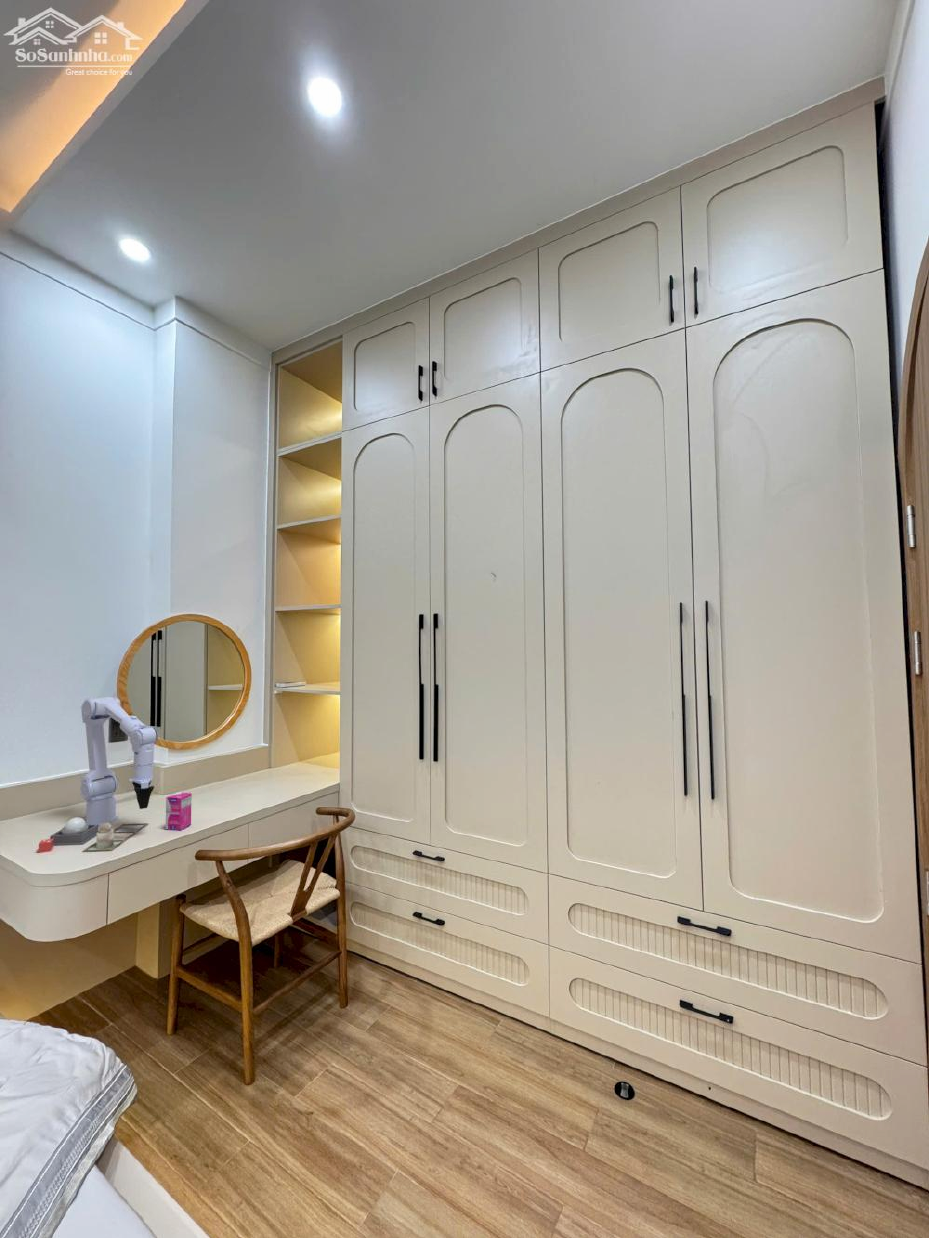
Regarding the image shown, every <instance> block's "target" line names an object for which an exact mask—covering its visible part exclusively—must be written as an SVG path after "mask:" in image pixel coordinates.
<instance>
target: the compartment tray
mask: <svg viewBox="0 0 929 1238" xmlns="http://www.w3.org/2000/svg"><path fill="white" fill-rule="evenodd" d="M148 825H149V823H147V822H146V823H123V824H121V825H119V826H117V827H116V828H115V829H113V830H114V844H113V846H111V847H108V848H104V849H97V848H96V847H97V841H95V842H94V843H92V844H91V845H89V846H88V847H87V848H84V849H83V850H82V853H96V852H98V853H100V852H113V851H114V850H115V849H117V848H118V847H120V846H121V845H122V844H124V843H125V842H127V841H128V840H129V839H130V838H132V837H133V836H135V835H136V834H137V833H139V832H140V831H141V830H143V829H144V828H145V827H147V826H148Z"/></svg>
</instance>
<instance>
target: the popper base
mask: <svg viewBox="0 0 929 1238" xmlns="http://www.w3.org/2000/svg"><path fill="white" fill-rule="evenodd" d="M99 827H100V826H99V824H97V825H88V830H87V831H85V832H84V833H82V834H69V835H62V829H60V830H58V831H56V832H55V833H52V834H51V835H50V837H49V839H54V846H53V847H58V846H60V847H64V846H65V847H66V846H83V845H85V844H86V843H88V842H89V841H91V840H93V839H94V838H97V832H98V831H99Z"/></svg>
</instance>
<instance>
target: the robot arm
mask: <svg viewBox="0 0 929 1238" xmlns="http://www.w3.org/2000/svg"><path fill="white" fill-rule="evenodd" d="M80 707H81V708H80V709H81V718H82V719H81V720H82V723H83V724H85V736H86V745H87V755H88V756H87V757H88V758H87V759H88V769H89V771H87V773H86V774H85V775H84V776H83V777H82V778H81V782H80V783H81V784H80V789H79V792H80V795H81V798H82V799H83V800H85V801H86V803H85V804H86V805H85V806H86V808H85V810H86V811H85V822H86V824H88V825H97V824H99V827H100V825H101V824H103V823H110V824H111V822H113V821H114V820H117V819H118V818H119V815H116V814H117V799H116V796H115V795H114V793H116V792H117V789H118V787H119V786H118V785H119V783H118V779H117V777H116V772H115V770H114V771H113V770H112V769H110V768H108V762H107V759H108V758H107V750H106V749H107V748H106V740H105V728H104V724H105V723H106V721H107V720H110V719H111V718H112V719H113V720H115V722H118V723H119V729H120V730H121V731H122V732H123V733H125V735H127V737H129V743H130V744H131V751H132V752H133V770H132V772H133V773H132V775H133V777H131V778H129V779H128V782H129V783H131V782H132V783H131V784H132V785H133V791H134V793H135V795H136V796H135V797H136V800H137V803H138V808H139V810H143V809H148V806H149V803H150V799H151V795H152V793H153V791H154V789H155V786H154V785H151V783H152V781H153V780H154V779H155V777H154V754H155V753H154V751H155V750H154V749H155V744H156V743H157V742H158V740H159V732H158V730H157V728H156V727H155V726H148V725H146V724H144V723H143V722H142V720H140V719H139V718H138V717H137V716H136V715H129V714H128V713H127V712H126V711H125V710H124V709H123V707H121V700H120V699H119V698H118V697H117V696H114V695H113V696H112V695H111V696H108V697H107V696H105V697H98V698H97V697H96V698H86V699H85V700H84V701H83V703H82V704H81V706H80ZM150 785H151V786H150Z"/></svg>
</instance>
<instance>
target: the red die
mask: <svg viewBox="0 0 929 1238" xmlns="http://www.w3.org/2000/svg"><path fill="white" fill-rule="evenodd" d="M54 847H55V846H54V839H50V838H49V839H48V838H47V839H41V841H39V843H38V854H42V853H49V852H52V850H53V849H54Z"/></svg>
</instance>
